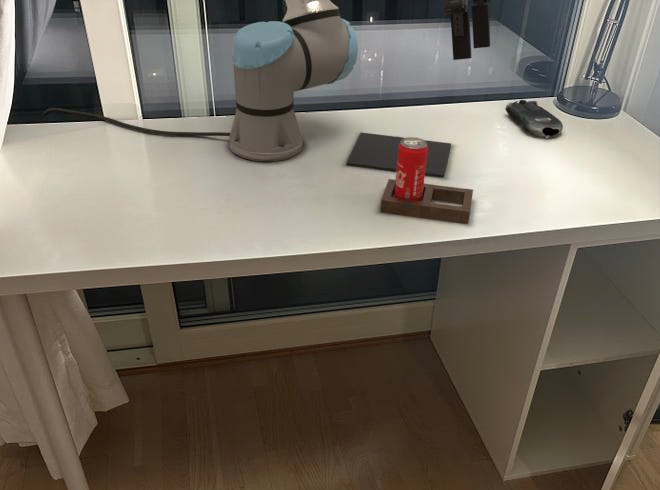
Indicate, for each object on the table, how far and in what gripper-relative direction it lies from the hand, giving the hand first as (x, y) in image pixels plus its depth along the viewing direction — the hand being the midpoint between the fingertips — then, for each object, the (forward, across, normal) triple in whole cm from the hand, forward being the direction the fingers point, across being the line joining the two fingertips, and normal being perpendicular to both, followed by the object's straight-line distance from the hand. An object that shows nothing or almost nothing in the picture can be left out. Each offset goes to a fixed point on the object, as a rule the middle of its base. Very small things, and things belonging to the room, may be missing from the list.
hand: (472, 53), depth 115 cm
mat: (+20, +20, +21) cm, 35 cm away
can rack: (+26, +1, +10) cm, 28 cm away
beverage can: (+25, 0, +14) cm, 29 cm away
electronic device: (+22, +49, -2) cm, 54 cm away
